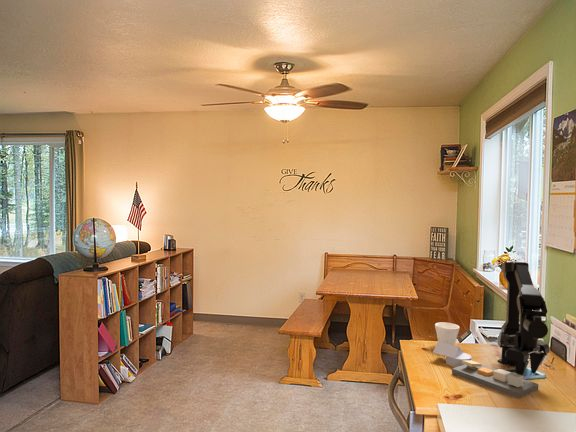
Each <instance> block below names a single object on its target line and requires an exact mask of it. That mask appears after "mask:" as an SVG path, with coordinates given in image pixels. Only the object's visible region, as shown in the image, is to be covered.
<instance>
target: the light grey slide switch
mask: <svg viewBox="0 0 576 432" xmlns="http://www.w3.org/2000/svg"><path fill="white" fill-rule="evenodd" d="M523 379H524V375H523V376H522V375H519V374H517V373H516V372H514V371H513V372H511V373H510V374H508V384H510V385H513V386H516V387H520V386H523Z"/></svg>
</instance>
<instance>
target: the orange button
mask: <svg viewBox="0 0 576 432" xmlns="http://www.w3.org/2000/svg"><path fill="white" fill-rule="evenodd" d="M477 373H479V374H482V375H485V376H488V377H489V376H491V375H494V370H491V369H488V368H485V367H482V368H480V369H477Z"/></svg>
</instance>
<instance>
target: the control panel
mask: <svg viewBox="0 0 576 432" xmlns="http://www.w3.org/2000/svg"><path fill="white" fill-rule="evenodd" d="M482 367H485V368H488V369H491V370H494V371H495V370H497V369H495V368H493V367H489V366H486V365H483V364H481V367H471V366H468V365H462V366H459V367H452V368H451V375H452V376H455V377H456V376H457V377H459V378H462V379H464V380H467V381H469V382H471V383H474V384H476V385H477V384H478V385H480V386H483V387H485V388H488V389H490V390H494V391H497V392H499V393H502V394H504V395H506V396H509V397H512V398H515V399H518V400H519V399H521V398H523V397H526V396H527V395H531V394H533V393H534V392H537V391H539V383H537V382H534V381H530V380H528V379H525V378H523V386H520V387H516V386H513V385H510V384H508V381H506V382H503V381H500V380H497V379H494V378H493V375H491V376H489V377H488V376H485V375H482V374H479V373H477V369H480V368H482Z"/></svg>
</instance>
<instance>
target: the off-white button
mask: <svg viewBox="0 0 576 432" xmlns="http://www.w3.org/2000/svg"><path fill="white" fill-rule="evenodd" d="M510 373H512V372H511V371H508V370H505V369H502V368H498V369H496V370H495V371H494V375H493V378H494V379H497V380H500V381H503V382H506V381H508V374H510Z"/></svg>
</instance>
